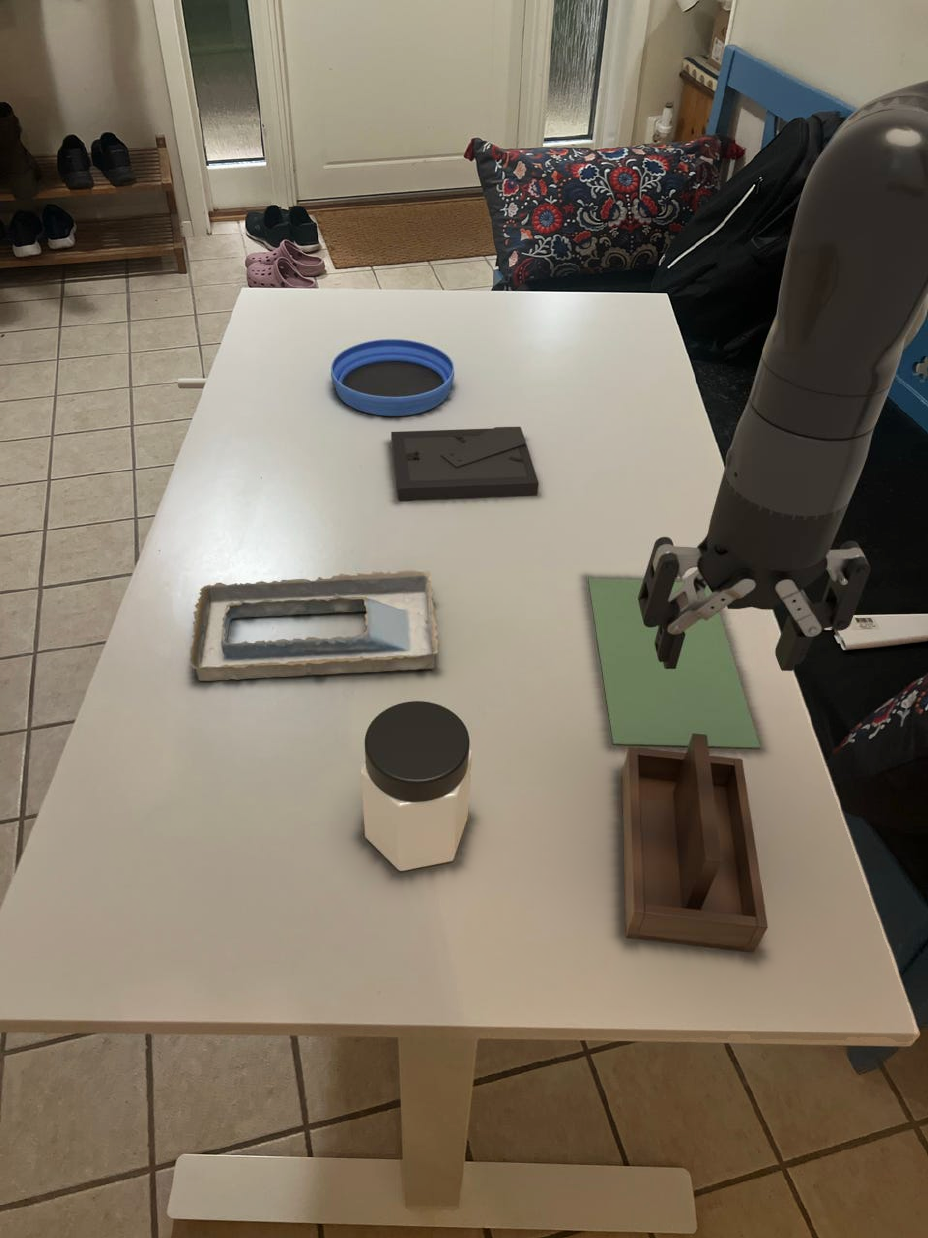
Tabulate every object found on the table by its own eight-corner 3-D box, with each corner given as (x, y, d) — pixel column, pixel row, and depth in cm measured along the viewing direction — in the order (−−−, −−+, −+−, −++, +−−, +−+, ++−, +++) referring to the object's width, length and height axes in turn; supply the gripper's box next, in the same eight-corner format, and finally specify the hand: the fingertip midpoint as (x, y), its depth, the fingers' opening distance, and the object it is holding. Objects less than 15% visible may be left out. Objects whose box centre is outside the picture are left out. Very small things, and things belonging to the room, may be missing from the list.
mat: (759, 748, 84) (760, 747, 84) (612, 744, 84) (613, 743, 84) (709, 583, 102) (710, 582, 102) (588, 579, 101) (588, 578, 101)
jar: (456, 781, 80) (460, 691, 72) (479, 858, 74) (487, 770, 66) (357, 798, 78) (351, 708, 70) (373, 879, 73) (368, 792, 64)
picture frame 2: (519, 439, 123) (391, 443, 121) (521, 425, 121) (391, 429, 119) (537, 495, 113) (398, 501, 111) (539, 480, 112) (398, 486, 110)
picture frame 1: (440, 674, 90) (441, 654, 88) (188, 689, 87) (182, 669, 85) (428, 588, 99) (429, 568, 97) (201, 599, 96) (196, 578, 94)
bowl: (460, 365, 138) (460, 343, 135) (446, 425, 125) (446, 402, 122) (345, 355, 139) (344, 333, 136) (319, 413, 126) (318, 391, 123)
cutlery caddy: (754, 952, 69) (787, 893, 63) (625, 937, 70) (646, 876, 64) (731, 786, 81) (757, 721, 75) (621, 773, 81) (638, 709, 75)
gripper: (684, 509, 51) (636, 699, 62) (929, 514, 51) (838, 701, 62) (661, 438, 56) (621, 625, 67) (882, 444, 57) (806, 627, 68)
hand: (725, 661), depth 65 cm, fingers open, 8 cm apart
